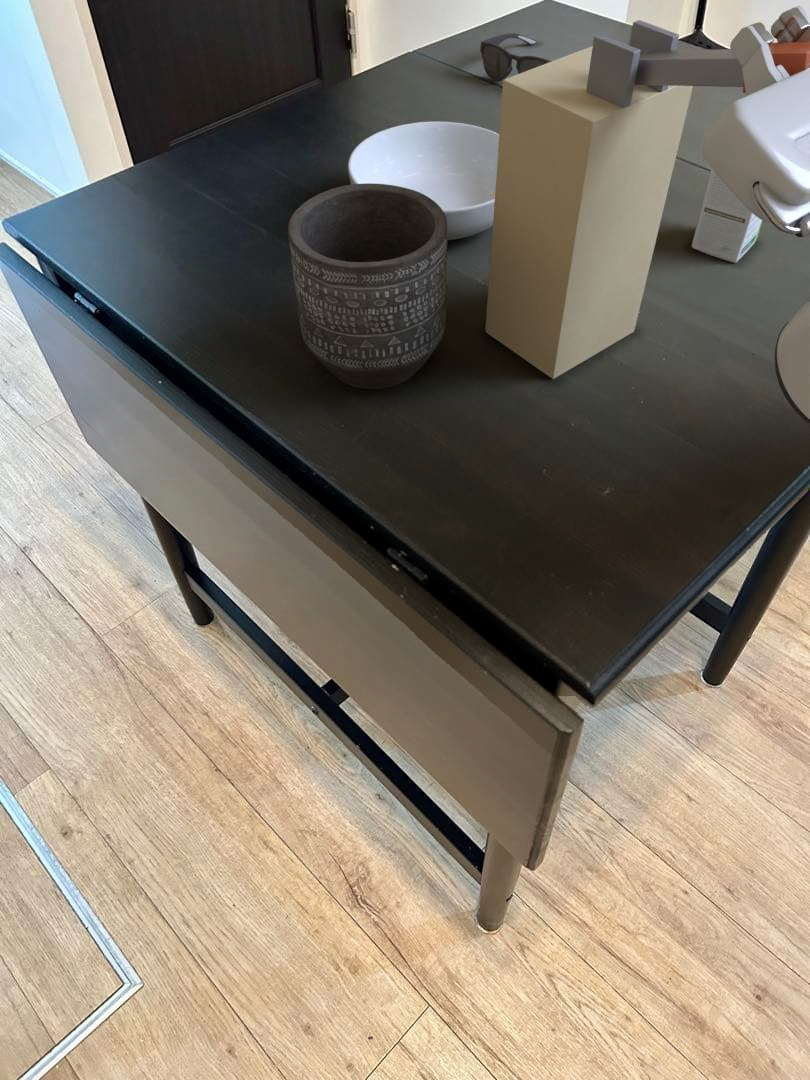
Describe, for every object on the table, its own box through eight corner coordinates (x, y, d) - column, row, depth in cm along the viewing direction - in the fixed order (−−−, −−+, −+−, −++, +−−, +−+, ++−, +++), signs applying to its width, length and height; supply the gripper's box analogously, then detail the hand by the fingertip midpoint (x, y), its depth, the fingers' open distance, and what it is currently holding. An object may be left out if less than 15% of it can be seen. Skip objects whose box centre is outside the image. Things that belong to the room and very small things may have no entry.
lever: (829, 81, 55) (834, 40, 54) (802, 94, 54) (806, 53, 53) (654, 79, 66) (654, 45, 64) (628, 90, 64) (627, 55, 63)
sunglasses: (465, 74, 128) (469, 38, 124) (526, 53, 137) (531, 18, 134) (555, 103, 121) (562, 65, 117) (613, 79, 130) (621, 43, 127)
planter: (368, 300, 91) (360, 167, 80) (472, 350, 85) (480, 214, 74) (276, 365, 84) (253, 230, 73) (383, 425, 79) (376, 288, 67)
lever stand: (634, 331, 87) (708, 23, 65) (553, 379, 82) (602, 65, 60) (565, 289, 92) (611, -12, 70) (485, 331, 87) (506, 25, 65)
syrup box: (736, 264, 94) (779, 136, 83) (688, 248, 97) (723, 120, 85) (756, 242, 97) (800, 115, 86) (709, 226, 100) (745, 100, 88)
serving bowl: (345, 264, 96) (340, 208, 90) (357, 174, 109) (354, 120, 104) (526, 265, 95) (533, 208, 90) (516, 174, 108) (521, 120, 103)
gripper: (754, 275, 53) (633, 103, 54) (925, 174, 61) (817, 26, 62) (829, 213, 48) (692, 22, 49) (1007, 111, 56) (886, -51, 57)
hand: (763, 23), depth 55 cm, fingers closed on lever, 3 cm apart
